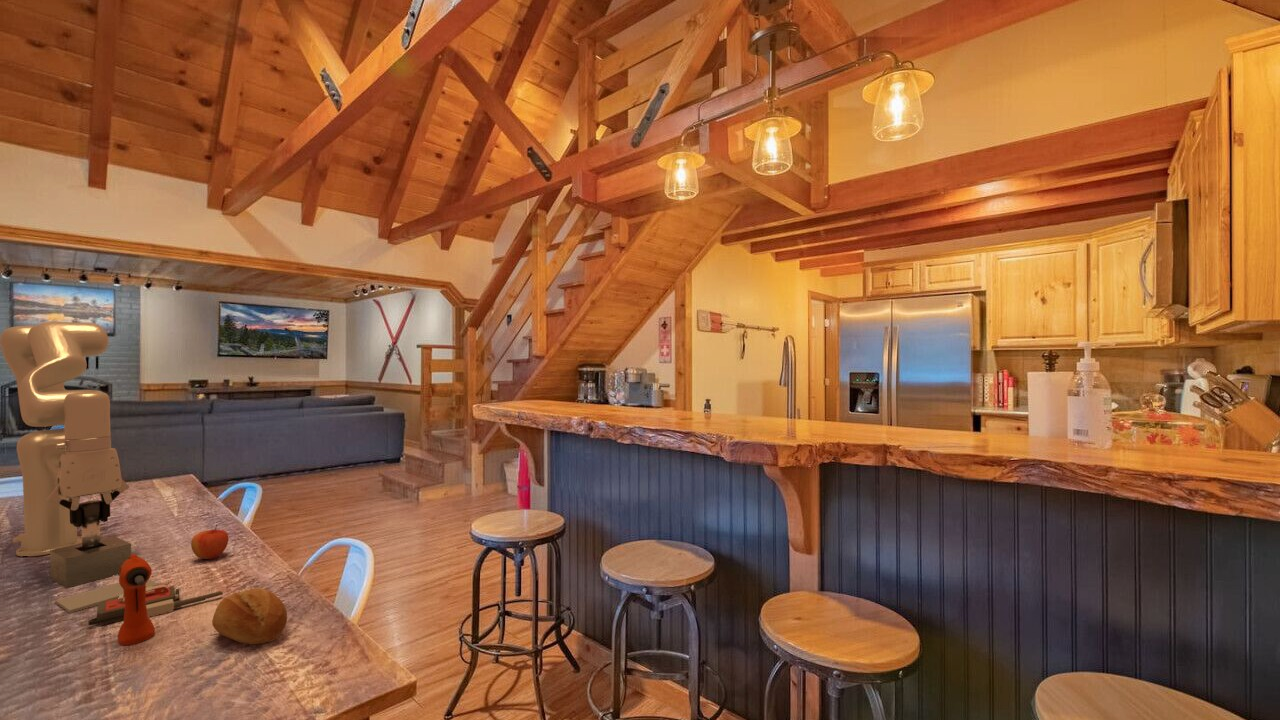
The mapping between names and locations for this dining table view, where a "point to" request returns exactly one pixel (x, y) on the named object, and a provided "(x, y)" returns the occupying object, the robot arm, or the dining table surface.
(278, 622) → the bread roll
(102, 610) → the walkie-talkie
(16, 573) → the dining table surface
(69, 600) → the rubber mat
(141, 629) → the toy drill
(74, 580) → the block
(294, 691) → the dining table surface
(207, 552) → the apple
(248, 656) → the dining table surface
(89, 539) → the brown beige cylinder
